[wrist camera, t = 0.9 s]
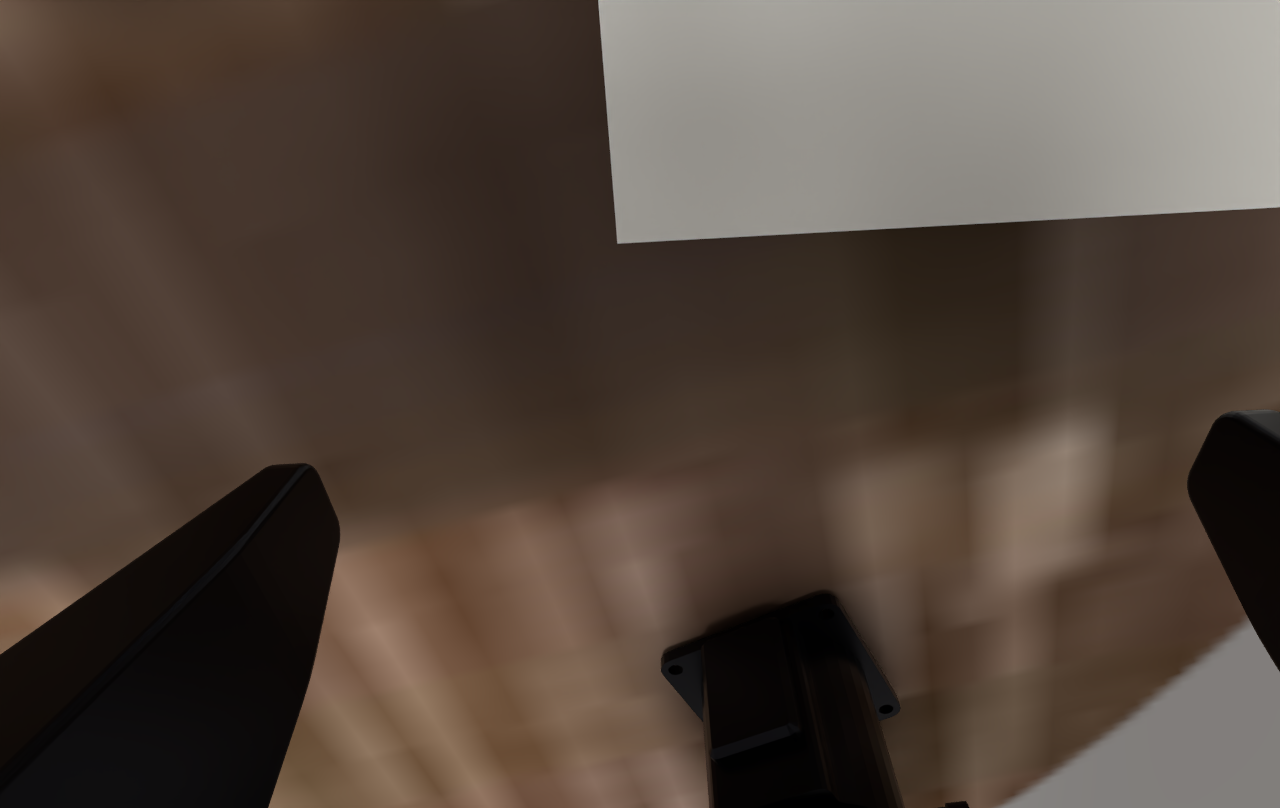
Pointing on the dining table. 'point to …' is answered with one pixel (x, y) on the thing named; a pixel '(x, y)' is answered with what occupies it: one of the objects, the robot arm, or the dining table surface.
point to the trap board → (934, 112)
